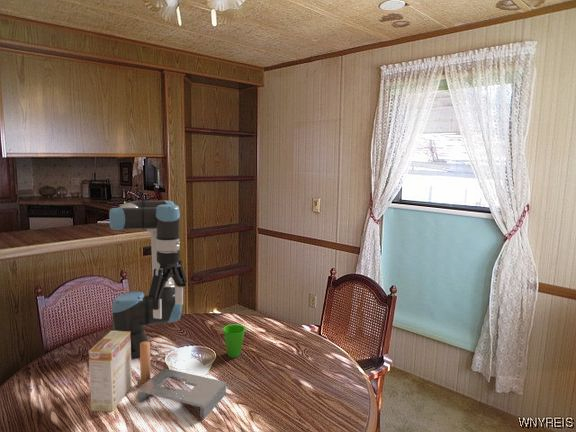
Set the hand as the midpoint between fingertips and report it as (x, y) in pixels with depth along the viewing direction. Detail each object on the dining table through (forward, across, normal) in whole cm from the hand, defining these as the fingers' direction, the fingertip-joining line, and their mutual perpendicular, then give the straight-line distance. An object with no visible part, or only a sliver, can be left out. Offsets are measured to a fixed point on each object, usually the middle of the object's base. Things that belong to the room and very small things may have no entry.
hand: (168, 310), depth 140 cm
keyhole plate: (+25, -9, -10) cm, 28 cm away
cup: (+25, +24, -14) cm, 38 cm away
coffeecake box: (+25, -16, +11) cm, 32 cm away
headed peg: (+25, -6, +5) cm, 26 cm away
